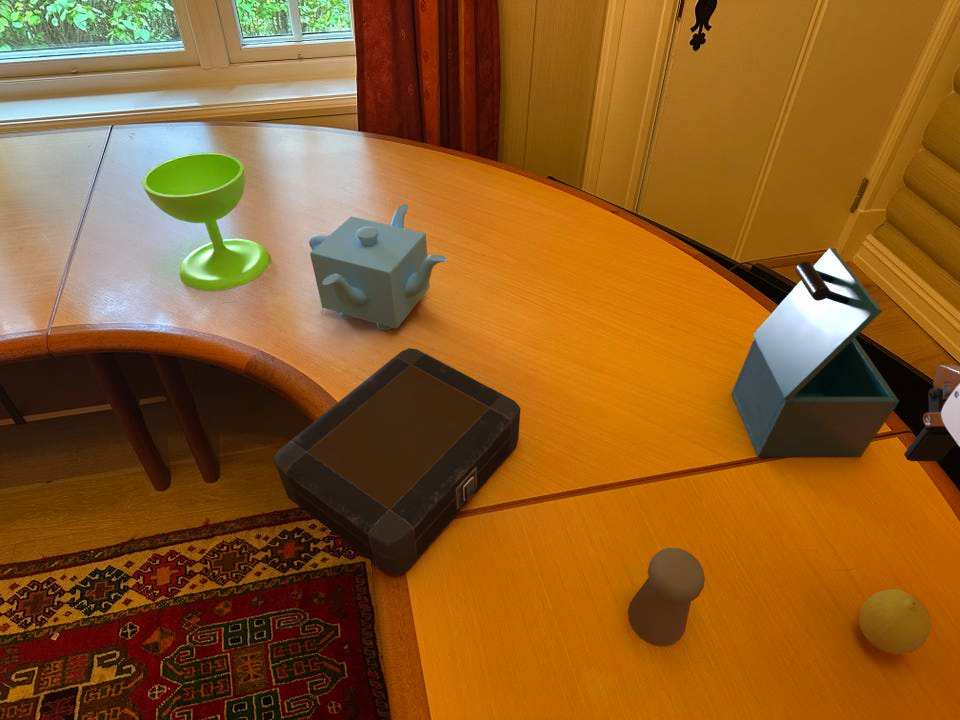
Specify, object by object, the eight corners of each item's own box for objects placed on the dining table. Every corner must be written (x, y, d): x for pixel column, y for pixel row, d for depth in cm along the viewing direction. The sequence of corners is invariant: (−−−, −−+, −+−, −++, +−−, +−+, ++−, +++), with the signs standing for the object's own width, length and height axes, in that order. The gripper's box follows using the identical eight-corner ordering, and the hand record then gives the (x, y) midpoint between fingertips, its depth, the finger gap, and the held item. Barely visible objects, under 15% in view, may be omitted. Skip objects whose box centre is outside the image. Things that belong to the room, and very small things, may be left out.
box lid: (835, 249, 71) (797, 235, 70) (883, 310, 63) (841, 296, 62) (757, 336, 81) (723, 325, 79) (790, 399, 72) (752, 389, 71)
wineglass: (202, 239, 119) (170, 150, 106) (281, 243, 117) (258, 154, 105) (163, 287, 107) (121, 194, 95) (250, 293, 106) (220, 199, 93)
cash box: (402, 587, 67) (395, 552, 61) (280, 495, 75) (265, 456, 70) (526, 444, 81) (530, 405, 76) (413, 380, 90) (408, 342, 85)
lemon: (891, 678, 60) (933, 645, 54) (837, 635, 63) (871, 600, 57) (914, 640, 63) (956, 606, 57) (860, 601, 66) (895, 564, 60)
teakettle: (314, 289, 107) (296, 214, 97) (415, 265, 112) (408, 192, 102) (339, 356, 94) (321, 278, 84) (451, 325, 99) (448, 249, 89)
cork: (616, 602, 65) (634, 550, 58) (663, 581, 67) (686, 528, 60) (649, 656, 61) (672, 608, 54) (697, 632, 63) (727, 582, 56)
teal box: (823, 393, 88) (855, 337, 81) (860, 457, 80) (899, 401, 72) (730, 393, 88) (754, 337, 81) (757, 457, 80) (786, 401, 72)
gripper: (1269, 461, 34) (1067, 601, 46) (1054, 280, 47) (939, 426, 58) (1136, 462, 34) (968, 602, 46) (956, 281, 47) (861, 427, 58)
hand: (951, 503), depth 52 cm, fingers open, 9 cm apart
